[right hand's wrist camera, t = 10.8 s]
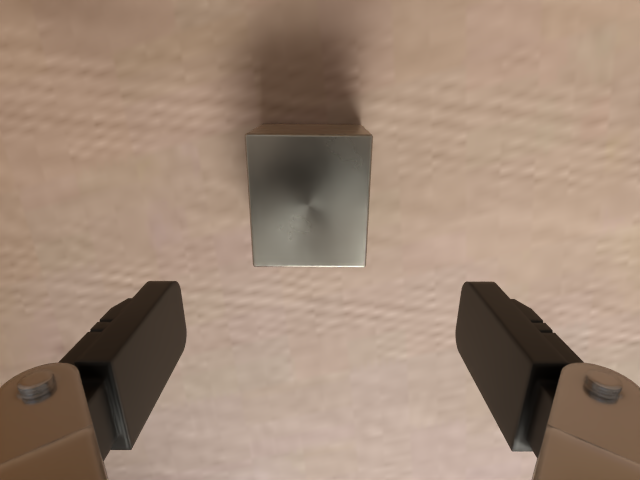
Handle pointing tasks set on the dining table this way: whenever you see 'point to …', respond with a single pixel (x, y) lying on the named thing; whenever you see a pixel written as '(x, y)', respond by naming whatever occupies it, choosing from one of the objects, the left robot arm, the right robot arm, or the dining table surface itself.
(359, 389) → the dining table surface
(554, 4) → the dining table surface
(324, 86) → the dining table surface
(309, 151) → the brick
